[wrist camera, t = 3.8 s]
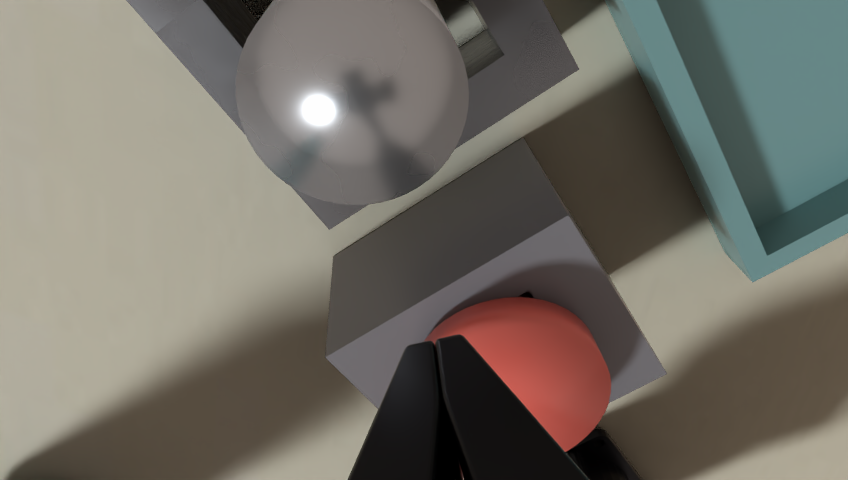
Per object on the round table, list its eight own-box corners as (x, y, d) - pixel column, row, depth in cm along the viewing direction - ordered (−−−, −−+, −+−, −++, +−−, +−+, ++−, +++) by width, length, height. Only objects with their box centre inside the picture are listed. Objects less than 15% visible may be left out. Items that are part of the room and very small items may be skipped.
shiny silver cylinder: (452, 22, 19) (510, 128, 11) (346, 96, 20) (333, 241, 12) (375, -102, 17) (380, -78, 9) (262, -15, 18) (184, 73, 10)
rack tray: (980, 115, 22) (1032, 136, 20) (725, 252, 24) (752, 282, 23) (914, -266, 16) (979, -282, 15) (585, -41, 18) (607, -31, 17)
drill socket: (551, 42, 20) (579, 69, 17) (333, 186, 21) (329, 229, 19) (395, -245, 16) (401, -267, 13) (146, -37, 18) (108, -20, 15)
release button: (600, 332, 22) (642, 414, 18) (462, 405, 23) (479, 494, 20) (522, 216, 19) (555, 288, 16) (372, 306, 20) (373, 390, 17)
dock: (608, 275, 24) (667, 373, 20) (436, 370, 26) (452, 481, 21) (522, 137, 21) (568, 215, 16) (333, 256, 23) (324, 357, 18)
